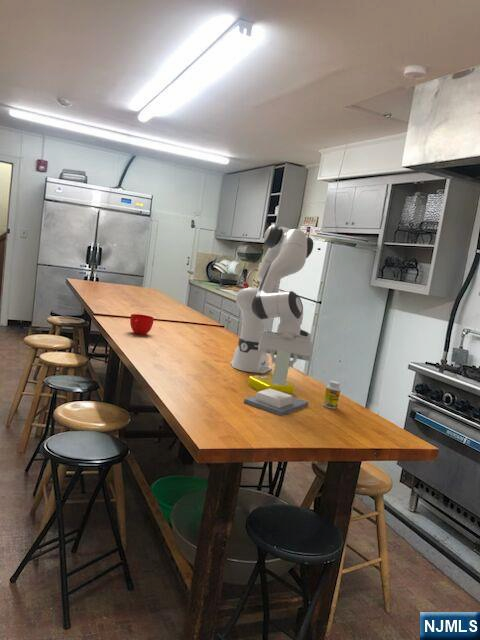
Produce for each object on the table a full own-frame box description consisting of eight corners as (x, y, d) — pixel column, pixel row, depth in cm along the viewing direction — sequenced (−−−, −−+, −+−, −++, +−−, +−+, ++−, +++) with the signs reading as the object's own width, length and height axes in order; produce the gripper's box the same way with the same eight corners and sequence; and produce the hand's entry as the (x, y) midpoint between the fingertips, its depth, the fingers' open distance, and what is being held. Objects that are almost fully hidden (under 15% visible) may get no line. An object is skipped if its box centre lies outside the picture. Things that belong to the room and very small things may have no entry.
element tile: (268, 397, 197) (270, 385, 197) (245, 385, 209) (247, 374, 209) (295, 395, 207) (297, 384, 206) (272, 384, 218) (274, 374, 218)
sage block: (272, 379, 187) (278, 348, 185) (286, 382, 186) (291, 351, 185) (271, 382, 182) (277, 350, 180) (285, 385, 181) (290, 353, 180)
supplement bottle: (326, 408, 193) (331, 383, 192) (320, 403, 199) (325, 379, 197) (339, 409, 195) (344, 384, 193) (333, 405, 200) (338, 380, 199)
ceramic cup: (121, 333, 272) (124, 315, 271) (133, 330, 289) (135, 313, 288) (144, 338, 270) (146, 320, 269) (154, 334, 287) (157, 317, 286)
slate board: (272, 393, 201) (274, 383, 201) (307, 405, 193) (309, 394, 192) (243, 402, 183) (245, 390, 182) (281, 416, 174) (284, 403, 174)
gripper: (261, 325, 190) (254, 354, 182) (315, 334, 187) (310, 364, 179) (261, 335, 195) (254, 363, 186) (313, 344, 192) (308, 374, 184)
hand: (282, 364), depth 183 cm, fingers closed on sage block, 5 cm apart
